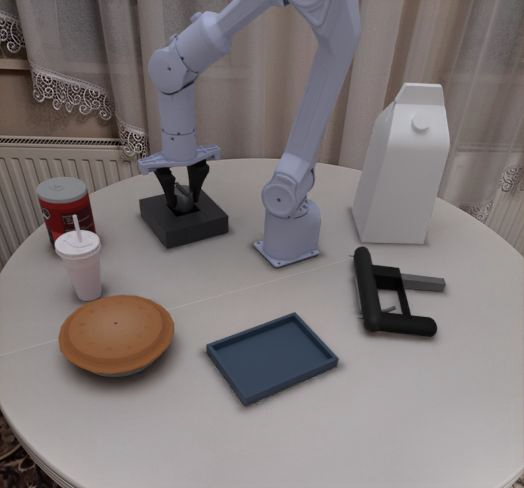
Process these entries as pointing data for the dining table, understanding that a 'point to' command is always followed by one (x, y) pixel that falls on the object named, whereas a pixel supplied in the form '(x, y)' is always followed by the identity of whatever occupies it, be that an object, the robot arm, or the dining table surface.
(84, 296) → the smoothie
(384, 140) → the milk
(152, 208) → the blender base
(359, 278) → the door handle
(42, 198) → the canned food
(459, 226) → the dining table surface
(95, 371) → the pie
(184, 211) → the dark grey canister
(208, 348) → the tray
